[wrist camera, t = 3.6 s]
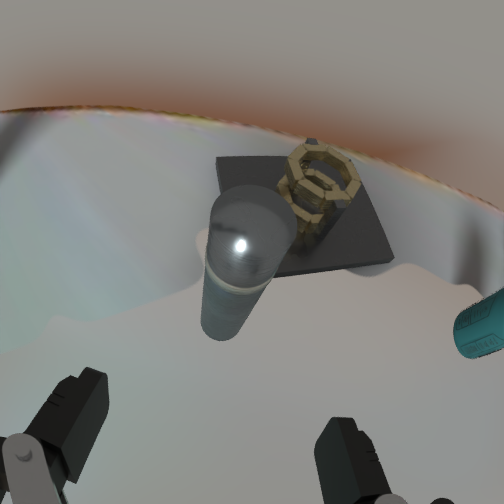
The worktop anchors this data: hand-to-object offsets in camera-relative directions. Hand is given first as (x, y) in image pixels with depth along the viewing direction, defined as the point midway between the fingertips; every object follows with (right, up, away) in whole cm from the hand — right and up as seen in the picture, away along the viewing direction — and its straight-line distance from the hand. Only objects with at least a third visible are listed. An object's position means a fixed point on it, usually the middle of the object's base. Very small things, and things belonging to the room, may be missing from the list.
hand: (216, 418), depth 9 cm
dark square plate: (+7, +10, +24) cm, 27 cm away
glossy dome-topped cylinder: (-1, 0, +17) cm, 17 cm away
